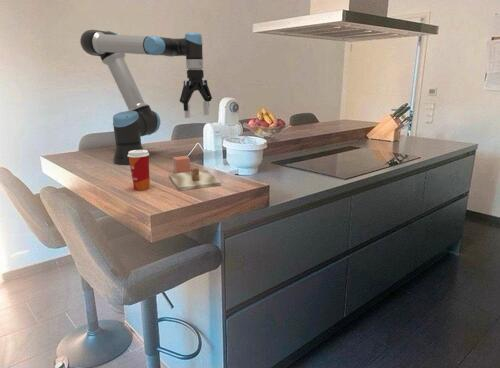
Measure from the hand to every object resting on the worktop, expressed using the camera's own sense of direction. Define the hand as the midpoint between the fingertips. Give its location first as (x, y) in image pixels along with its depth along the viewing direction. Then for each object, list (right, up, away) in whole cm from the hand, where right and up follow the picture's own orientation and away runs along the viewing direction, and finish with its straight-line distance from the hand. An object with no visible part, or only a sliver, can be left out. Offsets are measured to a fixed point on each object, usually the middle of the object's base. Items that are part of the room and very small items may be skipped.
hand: (197, 116), depth 176 cm
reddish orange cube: (-5, -26, -15) cm, 31 cm away
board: (+3, -31, -29) cm, 43 cm away
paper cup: (-15, -34, -37) cm, 53 cm away
